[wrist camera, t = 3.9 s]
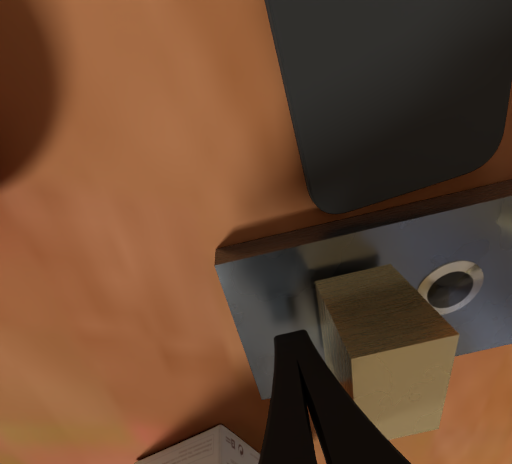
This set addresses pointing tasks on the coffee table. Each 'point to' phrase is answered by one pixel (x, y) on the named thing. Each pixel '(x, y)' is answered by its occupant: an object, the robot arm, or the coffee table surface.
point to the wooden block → (387, 348)
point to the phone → (392, 91)
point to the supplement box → (207, 450)
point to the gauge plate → (374, 255)
